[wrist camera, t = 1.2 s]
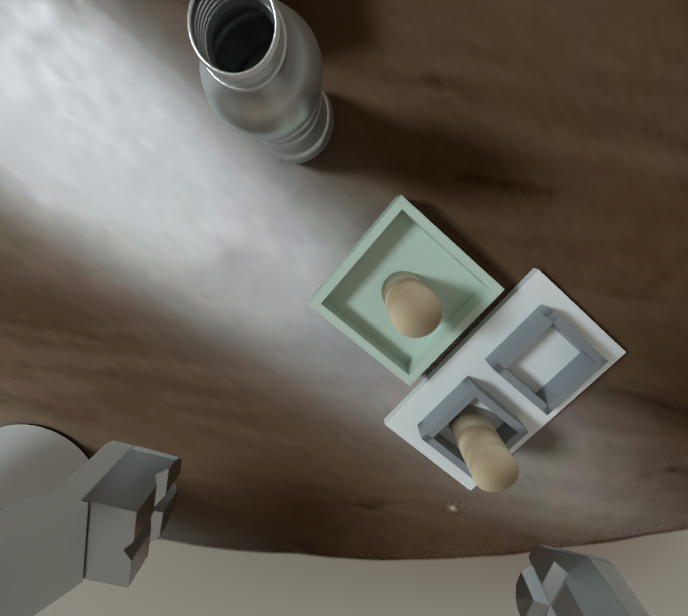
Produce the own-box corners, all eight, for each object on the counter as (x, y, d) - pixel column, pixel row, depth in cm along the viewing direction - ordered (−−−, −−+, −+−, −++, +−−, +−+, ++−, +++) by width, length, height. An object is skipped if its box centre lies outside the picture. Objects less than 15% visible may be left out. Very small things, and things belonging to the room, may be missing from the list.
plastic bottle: (349, 114, 34) (350, -11, 14) (309, 181, 35) (262, 150, 16) (287, 70, 33) (198, -127, 13) (249, 140, 34) (120, 56, 15)
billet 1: (403, 318, 37) (417, 348, 30) (372, 293, 37) (379, 316, 29) (431, 288, 37) (453, 310, 29) (400, 262, 36) (414, 277, 28)
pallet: (467, 484, 44) (477, 507, 40) (383, 419, 41) (386, 438, 38) (619, 348, 39) (644, 362, 36) (533, 268, 37) (552, 274, 34)
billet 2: (467, 444, 41) (494, 499, 33) (440, 423, 40) (462, 474, 33) (494, 419, 40) (528, 470, 32) (467, 397, 40) (496, 444, 32)
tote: (404, 370, 40) (409, 386, 37) (312, 295, 38) (308, 304, 35) (490, 281, 37) (504, 289, 34) (396, 196, 35) (401, 195, 32)
